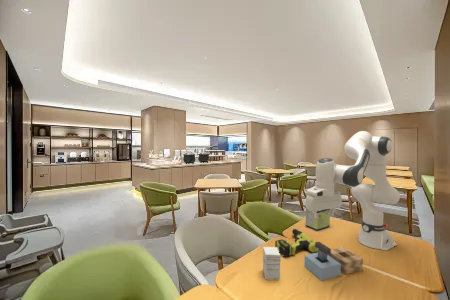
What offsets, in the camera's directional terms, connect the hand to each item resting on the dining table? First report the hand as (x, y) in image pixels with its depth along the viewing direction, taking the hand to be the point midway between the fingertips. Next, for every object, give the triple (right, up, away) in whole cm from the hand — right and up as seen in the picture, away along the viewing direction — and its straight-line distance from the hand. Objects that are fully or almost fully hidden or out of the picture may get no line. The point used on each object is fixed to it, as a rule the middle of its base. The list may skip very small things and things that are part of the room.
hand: (323, 217), depth 107 cm
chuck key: (0, -28, +2) cm, 28 cm away
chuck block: (0, -28, +2) cm, 28 cm away
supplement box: (-27, -29, -2) cm, 40 cm away
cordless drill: (-8, -27, +27) cm, 39 cm away
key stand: (+14, -28, +6) cm, 32 cm away
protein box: (+22, -26, +56) cm, 66 cm away
